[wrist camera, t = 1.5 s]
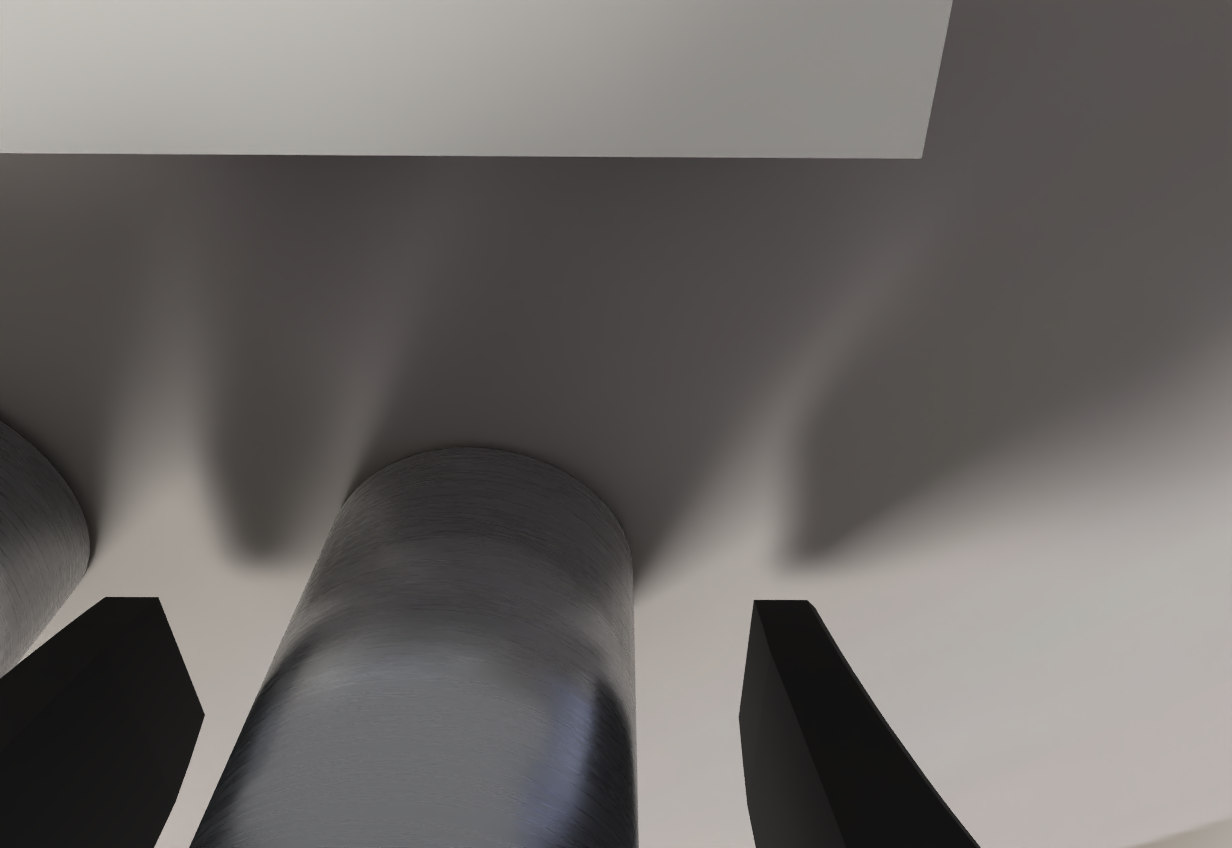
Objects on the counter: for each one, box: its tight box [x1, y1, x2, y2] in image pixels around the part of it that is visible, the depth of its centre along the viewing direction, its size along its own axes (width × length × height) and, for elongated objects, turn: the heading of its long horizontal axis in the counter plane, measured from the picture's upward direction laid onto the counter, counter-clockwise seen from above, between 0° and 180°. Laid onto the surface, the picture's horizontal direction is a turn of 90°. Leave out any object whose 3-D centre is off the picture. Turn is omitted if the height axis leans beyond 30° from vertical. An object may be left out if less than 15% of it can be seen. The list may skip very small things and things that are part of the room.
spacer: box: [189, 447, 639, 848], centre depth 9 cm, size 4×4×5 cm
